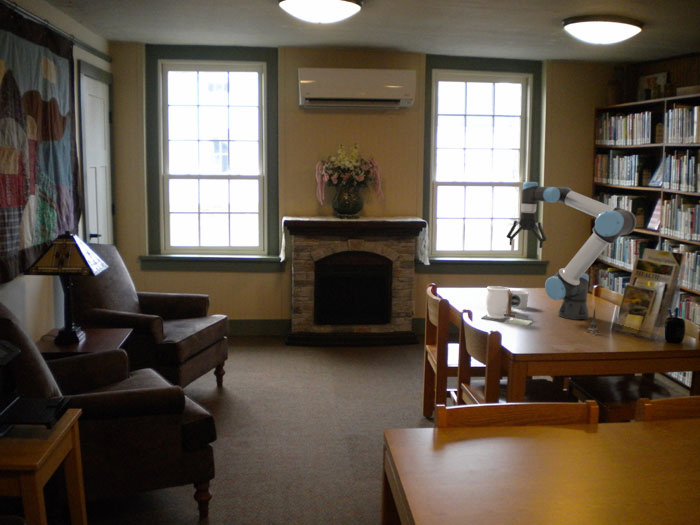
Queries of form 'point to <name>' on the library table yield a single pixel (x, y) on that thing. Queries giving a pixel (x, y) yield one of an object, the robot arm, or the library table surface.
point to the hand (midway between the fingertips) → (525, 253)
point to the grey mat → (495, 319)
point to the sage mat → (520, 321)
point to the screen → (509, 305)
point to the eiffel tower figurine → (593, 325)
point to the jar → (496, 301)
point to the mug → (519, 299)
